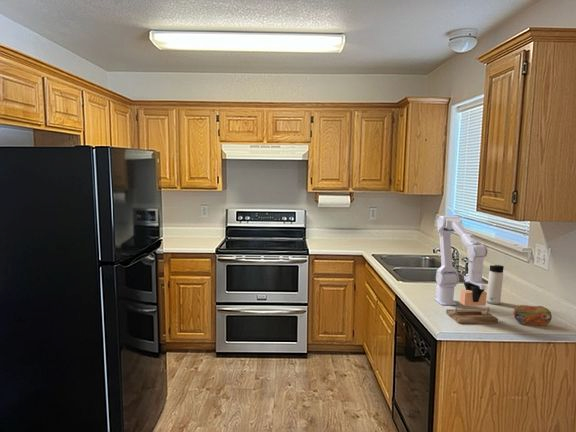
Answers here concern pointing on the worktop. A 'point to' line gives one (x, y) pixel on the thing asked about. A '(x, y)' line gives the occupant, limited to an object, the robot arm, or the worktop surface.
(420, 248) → the worktop surface
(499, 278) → the travel mug
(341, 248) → the worktop surface
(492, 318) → the board
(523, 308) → the tin
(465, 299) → the bar
